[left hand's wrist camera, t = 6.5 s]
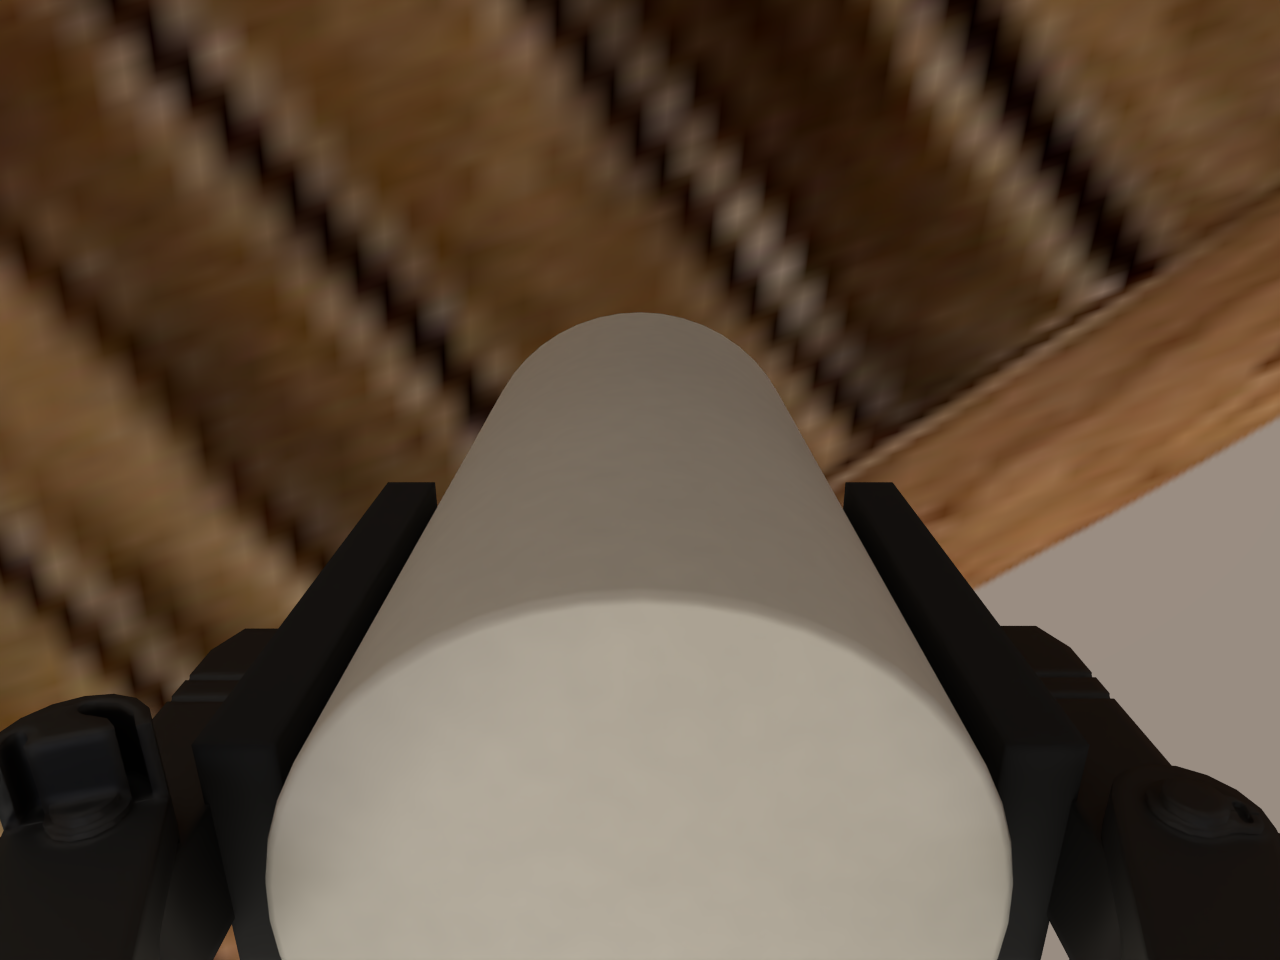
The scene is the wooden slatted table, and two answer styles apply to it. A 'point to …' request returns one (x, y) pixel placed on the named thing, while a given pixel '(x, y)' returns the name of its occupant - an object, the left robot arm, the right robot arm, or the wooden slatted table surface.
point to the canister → (639, 702)
